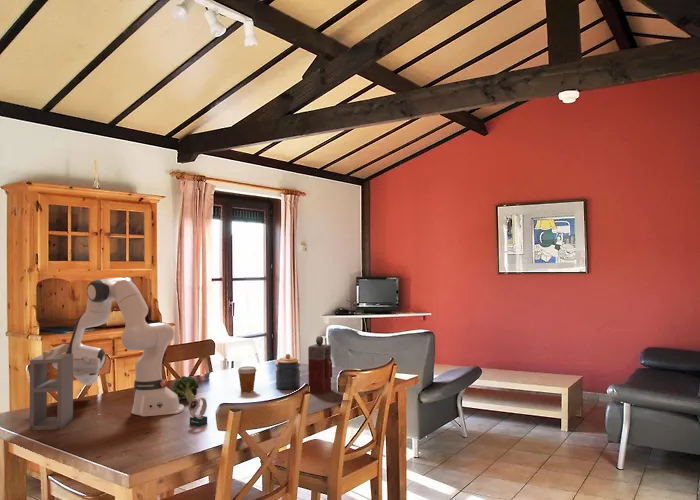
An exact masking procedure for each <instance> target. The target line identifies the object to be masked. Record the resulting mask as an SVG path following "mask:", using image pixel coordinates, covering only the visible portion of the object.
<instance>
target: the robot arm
mask: <svg viewBox="0 0 700 500" xmlns="http://www.w3.org/2000/svg"><path fill="white" fill-rule="evenodd" d="M86 295H87V297H88V298H87V302H86V308H85V312H84V313H83V314H80V315H79V317H78V318H77V319H76V322H75V326H74V328H73V331H72V334H71V338H70V341H69V344H68V351H66V352H65V354H73V377H74V378H75V379H76V380H77V381H78V382H79V383H81V384H82V385H84V386H91V385H93V384H94V383H96V382H97V381H98V379H99V374H100V371H101V370H102V369H103V367H105V366H104V365H105V364H106V361H107V355H106V352H105V350H104V349H103V348H101V347H96V346H90V345H87V344H83V343H82V340H83V337H84V334H85V331H86V329H88V328H94V327H99V326H102V325H104V324H107V322H108V321H109V319H110V316H111V314H112V313H111V312H112V305H113V304H112V302H116V304H117V306H118V308H119V311H120V312H121V315H122V316H123V319H124V323H125V327H124V330H123V332H121V337H120V338H121V339H120V340H121V341H120V342H121V344H122V346H123V347H124V349H126V350H128V351H143V352H142V354H141V356H140V357H139V358H137V360H136V362H135V368H134V369H135V379H134V380H133V381H134V382H133V391H134V400H133V405H132V409H131V412H130V413H131V414H132V415H136V416H140V417H152V416H153V417H154V416H155V417H156V416H163V415H164V416H166V415H175V414H180V413H181V412H183V411H184V410H185V405H184V404H183V403H180V398H179V397H178V395H177V394H176V393H174V392H173V391H172V389H170V388H169V387H167V379H164V378H162V363H163V360H164V359H163V358H164V355H165V352H166V350H167V347H168V346H169V345H170V344H171V343H172V341H173V340H174V337H175V331H174V327H173V326H171V324H169V323H166V322H153V323H148V322H147V321H146V317H147V316H148V313H149V307H148V305H147V303H146V301H145V299H144V297H143V295H142V294H141V291H140V290H139V288H138V287H137V285H135V281H133V279H132V278H130V277H126V276H122V277H108V278H102V279H95V280H92V281H90V282H89V283H88V285H87V289H86ZM51 364H52V367H53V368H54V369H56V370H57V363H51Z"/></svg>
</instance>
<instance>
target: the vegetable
mask: <svg viewBox="0 0 700 500" xmlns="http://www.w3.org/2000/svg"><path fill="white" fill-rule="evenodd" d="M198 388H199V382H198V381H197V380H195V378H194V377H193V376H189V375H188V376H185V375H181V376H180V377H179V378H178V379H176V380H175V382H174V384H173V387H172V388H171V391H173V392H174V393H176V394H177V395H178V398H179V400H184V399H186V401H187V402H186V403H188V404H189V403H190V401H191V400H193V399H194V398H196V397H197V396H196V395H197V393H198Z"/></svg>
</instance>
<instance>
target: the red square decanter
mask: <svg viewBox="0 0 700 500" xmlns="http://www.w3.org/2000/svg"><path fill="white" fill-rule="evenodd" d="M315 343H316V344H312V345H310V346H308V350H307V351H308V353H307V354H308V360H307V361H308V367H307V369H308V370H307V371H308V387H309V386H310V392H311V393H312V394H322V395H323V394H324V395H325V394H327V393H329V392H330V391H332V379H333V360H332V345H330V344H325V343H324V337H323V336H322V335H321V336H320V335H319V336H318V335H317V336H316V339H315ZM323 343H324V344H323ZM311 393H310V394H311Z"/></svg>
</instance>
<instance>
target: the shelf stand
mask: <svg viewBox="0 0 700 500" xmlns="http://www.w3.org/2000/svg"><path fill="white" fill-rule="evenodd" d="M53 363H57V369H56V370H57V373H56V374H57V379H55V378H53V379H49V380H48V373H47V372H48V364H53ZM51 392H52V393H55V392H57V393H56V395H57V397H56V398H57V402H56V405H57V408H56V409H57V410H56V411H57V416H48V393H51ZM73 420H74V375H73V354H66V353H62V354H60V355H57V356H55V357H53V358H50V359H47V360H43V354H41V355H39V356H36V357H33V358H31V359H29V431H40V430H41V431H42V430H43V431H44V430H62V429H63V428H64V427H66V426H67V425H69V424H70V423H71V422H72V421H73Z"/></svg>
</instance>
